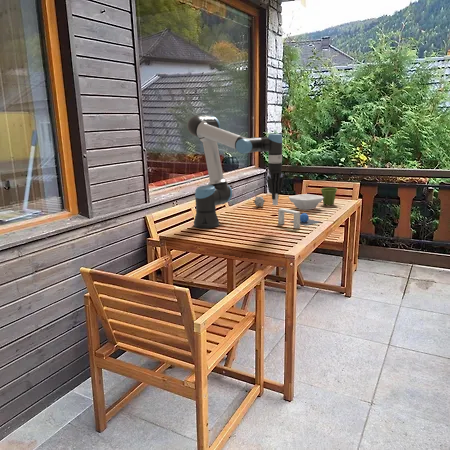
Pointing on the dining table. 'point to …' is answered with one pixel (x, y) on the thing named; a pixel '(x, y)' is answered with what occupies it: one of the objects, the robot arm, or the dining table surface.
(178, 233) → the dining table surface
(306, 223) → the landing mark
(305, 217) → the ball
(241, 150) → the robot arm
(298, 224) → the bridge
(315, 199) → the bowl
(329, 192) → the plant pot
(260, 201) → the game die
